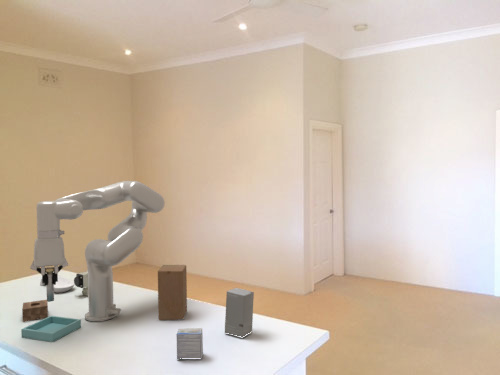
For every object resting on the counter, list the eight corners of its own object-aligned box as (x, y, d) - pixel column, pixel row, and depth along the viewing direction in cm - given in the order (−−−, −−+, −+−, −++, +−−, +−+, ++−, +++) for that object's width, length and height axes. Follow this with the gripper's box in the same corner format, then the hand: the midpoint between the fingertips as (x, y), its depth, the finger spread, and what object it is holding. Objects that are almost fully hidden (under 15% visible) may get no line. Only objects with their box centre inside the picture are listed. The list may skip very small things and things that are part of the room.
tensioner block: (47, 311, 174) (47, 299, 174) (48, 317, 166) (47, 305, 166) (23, 314, 170) (23, 302, 170) (22, 321, 162) (22, 309, 162)
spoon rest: (79, 290, 204) (78, 276, 203) (56, 296, 194) (55, 281, 194) (54, 282, 218) (54, 269, 218) (32, 288, 208) (31, 274, 208)
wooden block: (183, 320, 162) (182, 270, 161) (158, 320, 162) (157, 270, 161) (187, 311, 172) (186, 264, 171) (163, 311, 172) (162, 264, 171)
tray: (80, 327, 156) (80, 319, 156) (52, 342, 143) (52, 333, 143) (51, 323, 160) (51, 315, 160) (21, 337, 147) (21, 329, 147)
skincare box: (224, 334, 148) (223, 291, 147) (235, 327, 154) (235, 286, 153) (243, 339, 144) (243, 295, 143) (254, 332, 149) (254, 290, 149)
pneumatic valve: (101, 292, 199) (101, 268, 198) (79, 299, 190) (78, 273, 189) (95, 290, 202) (94, 266, 202) (73, 296, 193) (72, 271, 192)
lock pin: (58, 299, 152) (57, 267, 151) (50, 302, 148) (49, 269, 148) (50, 298, 153) (49, 266, 152) (42, 301, 150) (41, 268, 149)
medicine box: (203, 353, 133) (202, 327, 133) (201, 360, 129) (201, 333, 128) (178, 354, 133) (178, 328, 132) (176, 360, 128) (176, 333, 128)
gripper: (72, 231, 157) (73, 279, 157) (24, 235, 149) (25, 284, 150) (73, 234, 150) (74, 284, 151) (23, 238, 143) (24, 290, 143)
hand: (50, 283), depth 150 cm, fingers closed on lock pin, 2 cm apart
